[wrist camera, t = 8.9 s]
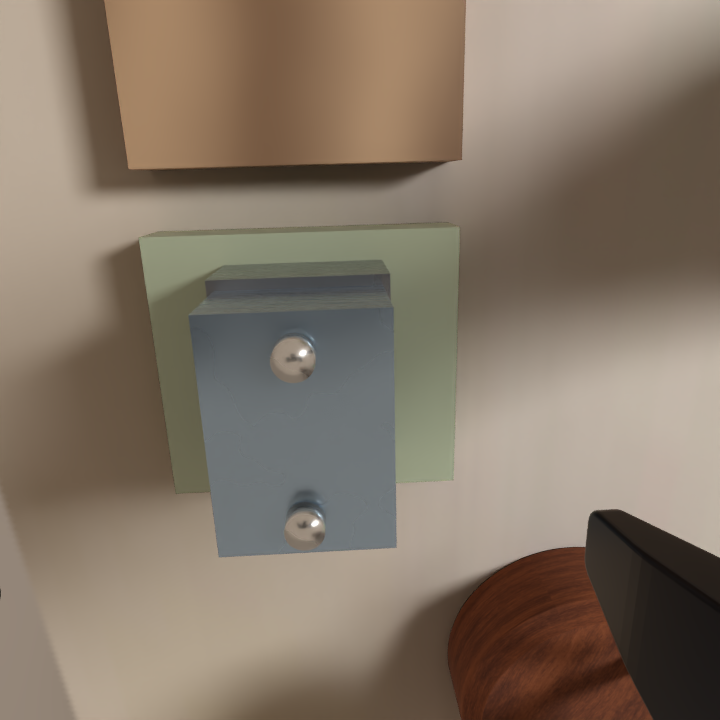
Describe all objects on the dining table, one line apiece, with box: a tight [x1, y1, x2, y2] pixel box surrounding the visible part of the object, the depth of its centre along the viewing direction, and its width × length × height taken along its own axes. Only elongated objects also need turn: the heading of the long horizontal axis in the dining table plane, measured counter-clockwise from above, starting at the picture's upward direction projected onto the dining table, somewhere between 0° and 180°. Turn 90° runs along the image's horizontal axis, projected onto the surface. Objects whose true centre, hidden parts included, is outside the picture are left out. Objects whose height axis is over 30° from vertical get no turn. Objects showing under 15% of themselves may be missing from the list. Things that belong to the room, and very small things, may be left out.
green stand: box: [139, 222, 460, 494], centre depth 20 cm, size 10×9×2 cm
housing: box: [188, 259, 396, 557], centre depth 16 cm, size 7×5×6 cm
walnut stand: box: [104, 0, 466, 170], centre depth 17 cm, size 10×7×2 cm
